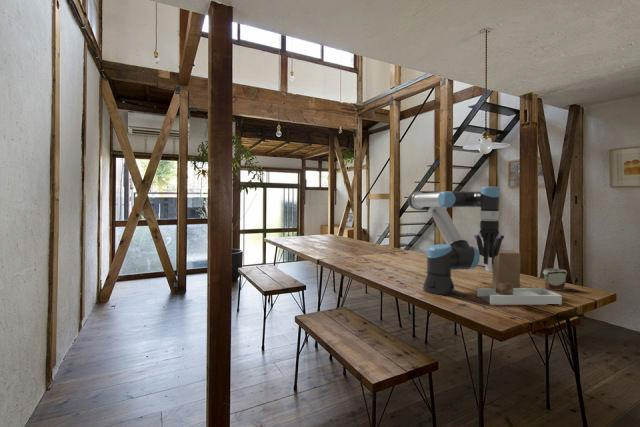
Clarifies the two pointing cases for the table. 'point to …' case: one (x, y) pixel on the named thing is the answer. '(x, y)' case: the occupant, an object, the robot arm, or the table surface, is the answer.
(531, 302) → the white tray
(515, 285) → the wooden block
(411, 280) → the table surface
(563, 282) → the food container
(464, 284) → the table surface
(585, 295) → the table surface
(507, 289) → the walnut cube
